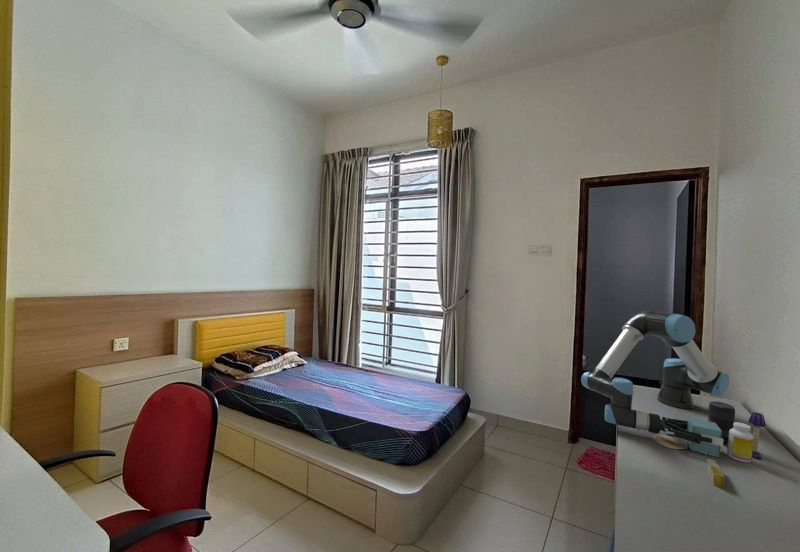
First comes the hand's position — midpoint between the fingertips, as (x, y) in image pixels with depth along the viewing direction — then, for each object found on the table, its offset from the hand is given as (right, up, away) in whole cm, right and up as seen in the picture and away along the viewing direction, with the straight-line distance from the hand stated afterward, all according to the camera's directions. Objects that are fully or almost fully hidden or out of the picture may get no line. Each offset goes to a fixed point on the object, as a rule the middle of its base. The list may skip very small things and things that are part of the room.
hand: (718, 437), depth 137 cm
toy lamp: (+12, -7, -1) cm, 14 cm away
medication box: (-16, -7, -16) cm, 24 cm away
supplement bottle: (+5, -7, -3) cm, 9 cm away
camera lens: (+9, -6, +11) cm, 16 cm away
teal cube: (-4, -6, +2) cm, 8 cm away
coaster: (-14, -5, +6) cm, 16 cm away
